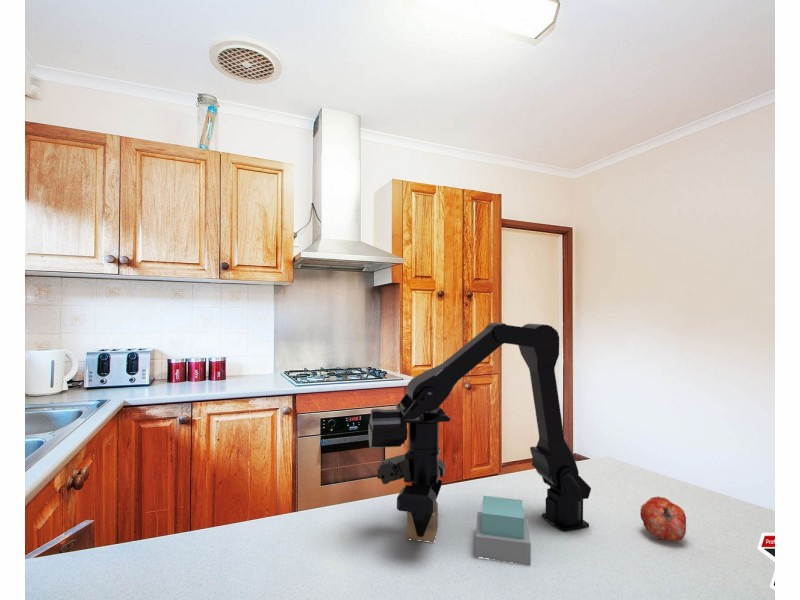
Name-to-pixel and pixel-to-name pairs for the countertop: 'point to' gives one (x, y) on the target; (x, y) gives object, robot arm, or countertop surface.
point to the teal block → (502, 517)
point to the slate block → (503, 545)
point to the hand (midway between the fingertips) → (422, 528)
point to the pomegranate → (663, 519)
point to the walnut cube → (430, 529)
